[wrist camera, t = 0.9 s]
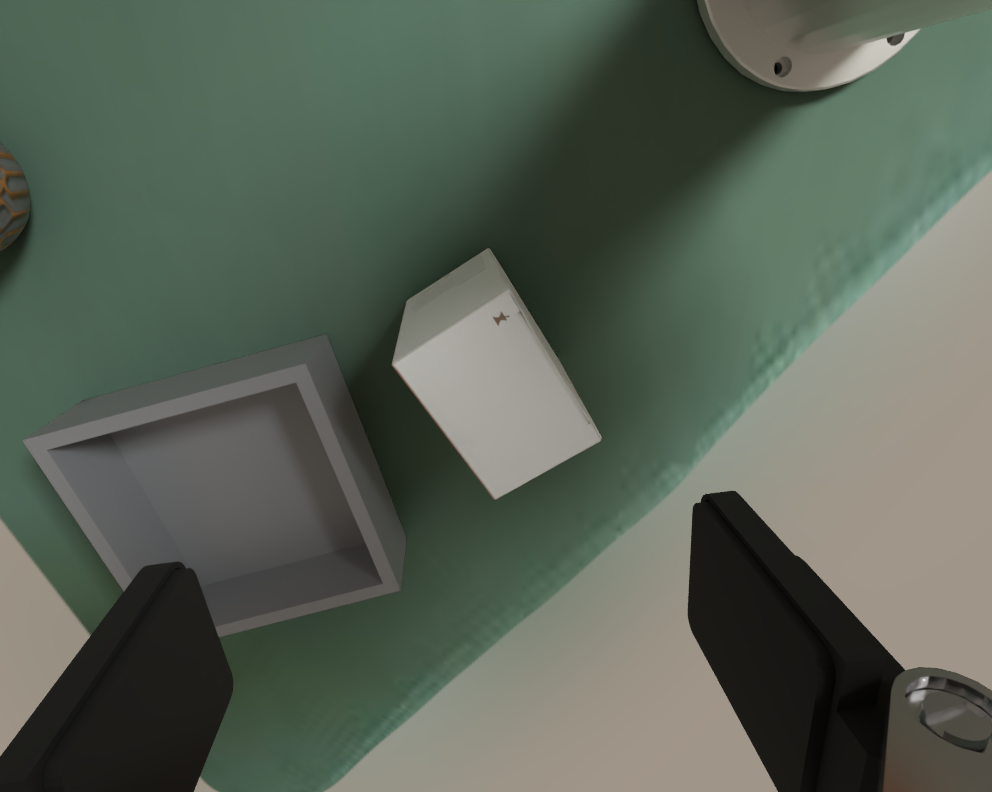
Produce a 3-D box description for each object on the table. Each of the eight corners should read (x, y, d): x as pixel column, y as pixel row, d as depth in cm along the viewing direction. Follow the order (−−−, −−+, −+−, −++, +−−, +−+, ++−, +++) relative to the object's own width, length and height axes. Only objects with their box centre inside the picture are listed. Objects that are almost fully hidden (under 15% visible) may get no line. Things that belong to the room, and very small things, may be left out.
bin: (326, 333, 32) (305, 363, 28) (406, 538, 38) (400, 590, 33) (82, 400, 33) (22, 440, 28) (198, 592, 38) (163, 651, 34)
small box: (404, 299, 32) (384, 361, 22) (490, 244, 31) (508, 284, 21) (481, 408, 35) (493, 506, 25) (561, 361, 34) (605, 443, 24)
